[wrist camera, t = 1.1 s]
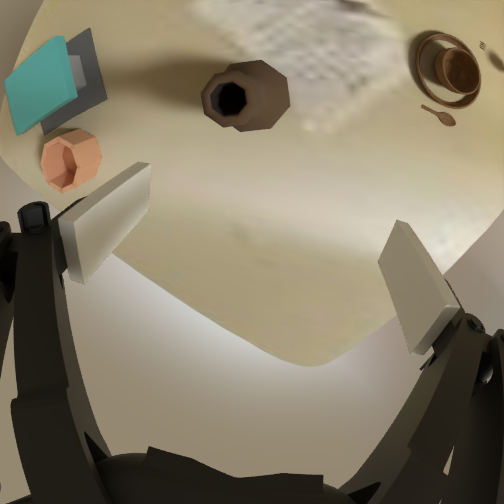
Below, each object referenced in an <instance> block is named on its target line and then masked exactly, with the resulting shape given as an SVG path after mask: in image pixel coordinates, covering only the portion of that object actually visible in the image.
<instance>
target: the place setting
mask: <svg viewBox="0 0 504 504" xmlns="http://www.w3.org/2000/svg"><path fill="white" fill-rule="evenodd" d="M435 40H444V41H448V42H450V43H452V44H454V45H455V46H457V47H458V48H448V49H444V50H442V51H441V52H440V53H439V54H438V55H437V57H436V59H435V72H436V75H437V77H438V79H439V81H440V82H441V83H442V85H443V86H444V87H446V88H447V89H448V90H450V91H452V92H455V93H459V94H465V95H467V94H468V96H467V97H466V98H465V99H463V100H461V101H459V102H447V101H444V100H442V99H440V98H438V97H437V96H436V95H434V94H433V93H432V92H431V91H430V89H429V88H428V87H427V85H426V83H425V82H424V80H423V77H422V74H421V70H420V55H421V52H422V50H423V48H424V47H425V46H426V45H427V44H428V43H430V42H432V41H435ZM480 42H481V41H480ZM481 43H483V42H481ZM481 43H480V44H481ZM483 44H484V43H483ZM483 44H481V45H483ZM481 45H480V46H481ZM485 45H486V44H485ZM480 46H479V47H480ZM483 46H484V45H483ZM483 46H481V47H483ZM481 47H480V48H481ZM485 47H486V46H485ZM483 48H484V47H483ZM483 48H482V49H483ZM485 49H486V48H485ZM483 50H484V49H483ZM416 68H417V73H418V76H419V79H420V81H421V83H422V85H423V87H424V88H425V90H426V91H427V92H428V94H429V95H430V96H431V97H432V98H433V99H434V100H436V101H437V102H438V103H440V104H441V105H443V106H445V107H448V108H452V109H463V108H466V107H468V106H470V105H471V104H472V103H473V102H474V101H475V100H476V98H477V96H478V94H479V91H480V87H481V74H480V69H479V66H478V63H477V61H476V58H475V57H474V55H473V53H472V52H471V50H470V49H469V48H468V47H467V46H466V45H465V44H464V43H463V42H462V41H460V40H459V39H457V38H456V37H454V36H451V35H448V34H443V33H438V34H433V35H431V36H429V37H427V38H425V39H424V40H423V41H422V43H421V44H420V46H419V48H418V51H417V55H416ZM421 108H423V109H425V110H427V111H429V112H431V113H433V114H435V115H437V116H438V117H439V119H440V120H441V121H442V123H444V124H445V125H447V126H455V125H456V122H455V120H454V118H453V117H452V116H451V115H450V114H447V113H438V112H436V111H434V110H432V109H430V108H428V107H426V106H425V105H421Z"/></svg>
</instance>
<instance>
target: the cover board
mask: <svg viewBox="0 0 504 504" xmlns="http://www.w3.org/2000/svg"><path fill="white" fill-rule="evenodd" d="M4 83H5V88H6V93H7V98H8V103H9V107H10V112H11V116H12V120H13V124H14V127H15V131H16V135H17V136H18V135H21V134H24V133H26V132H27V131H28V130H29V129H31V128H32V127H33V126H35V125H36V124H38V123H39V122H40V121H42V120H43V119H45V118H46V117H48V116H49V115H50V114H52V113H53V112H55V111H56V110H58V109H59V108H61V107H63V106H64V105H66V104H67V103H69V102H70V101H72V100H74V99H75V98H77V97H78V95H77V91H76V87H75V83H74V79H73V75H72V71H71V66H70V62H69V57H68V52H67V47H66V42H65V37H64V36H55V37H54V38H52V39H51V40H50V41H48V42H47V43H46V44H45V45H43V46H42V47H41V48H40V49H39V50H37V51H36V52H35V53H34V54H33V55H31V56H30V57H29V58H28V59H27V60H26V61H25V62H24V63H22V64H21V65H20V66H19V67H18V68H17V69H16V70H15V71H14V72H13V73H12V74H11V75H10V76H9V77H8V78H7V79H6V80H5V81H4Z"/></svg>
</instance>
